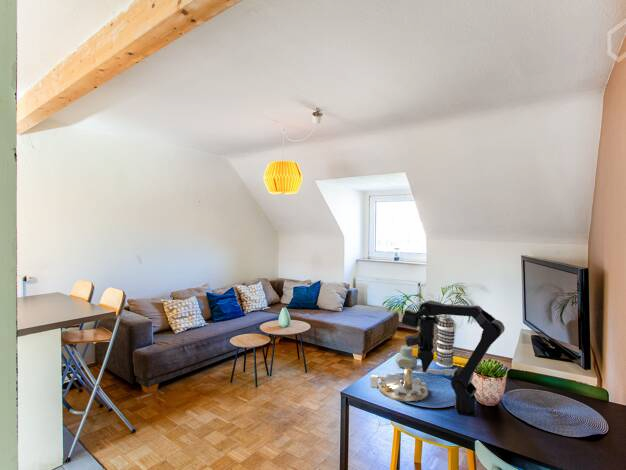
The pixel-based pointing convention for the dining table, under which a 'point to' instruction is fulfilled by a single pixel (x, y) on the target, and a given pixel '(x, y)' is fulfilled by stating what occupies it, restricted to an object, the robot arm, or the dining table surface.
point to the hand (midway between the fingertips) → (424, 367)
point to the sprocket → (403, 383)
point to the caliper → (440, 371)
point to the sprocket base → (402, 395)
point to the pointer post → (374, 380)
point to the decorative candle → (445, 342)
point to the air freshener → (406, 358)
